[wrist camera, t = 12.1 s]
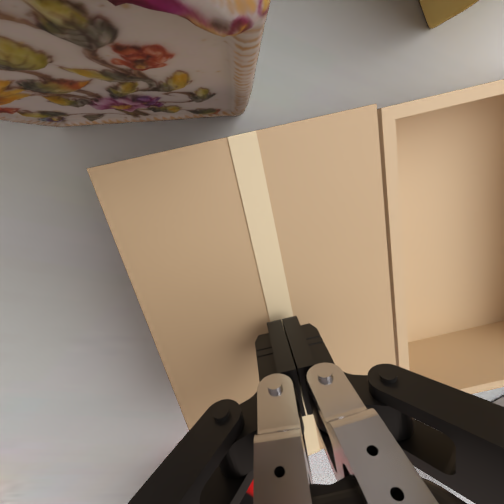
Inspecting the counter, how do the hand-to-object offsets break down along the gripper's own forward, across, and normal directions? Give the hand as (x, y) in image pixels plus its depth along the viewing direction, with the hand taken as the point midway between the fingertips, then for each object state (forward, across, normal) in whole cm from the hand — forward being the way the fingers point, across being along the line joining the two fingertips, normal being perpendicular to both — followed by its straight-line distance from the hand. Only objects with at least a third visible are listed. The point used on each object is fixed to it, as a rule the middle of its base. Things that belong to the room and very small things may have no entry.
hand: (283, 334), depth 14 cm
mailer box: (+7, -12, 0) cm, 15 cm away
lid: (+1, 0, 0) cm, 1 cm away
